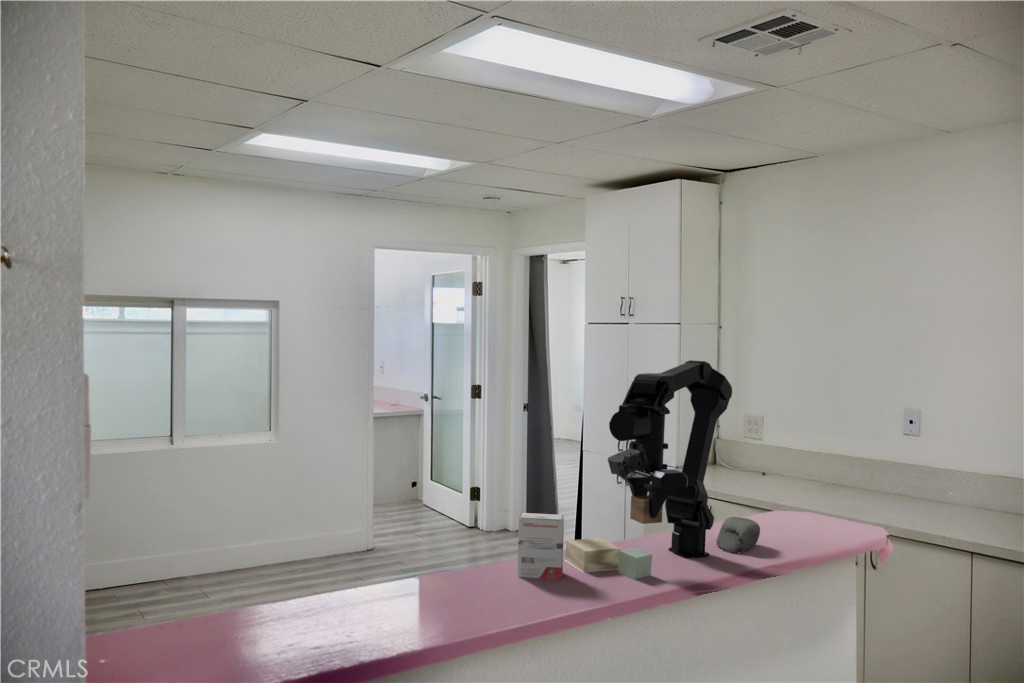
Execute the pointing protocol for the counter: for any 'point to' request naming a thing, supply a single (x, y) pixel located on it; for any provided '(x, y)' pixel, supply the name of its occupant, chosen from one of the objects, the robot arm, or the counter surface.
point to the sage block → (634, 563)
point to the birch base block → (592, 554)
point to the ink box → (540, 546)
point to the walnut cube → (643, 510)
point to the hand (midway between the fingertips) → (646, 515)
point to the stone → (738, 534)
